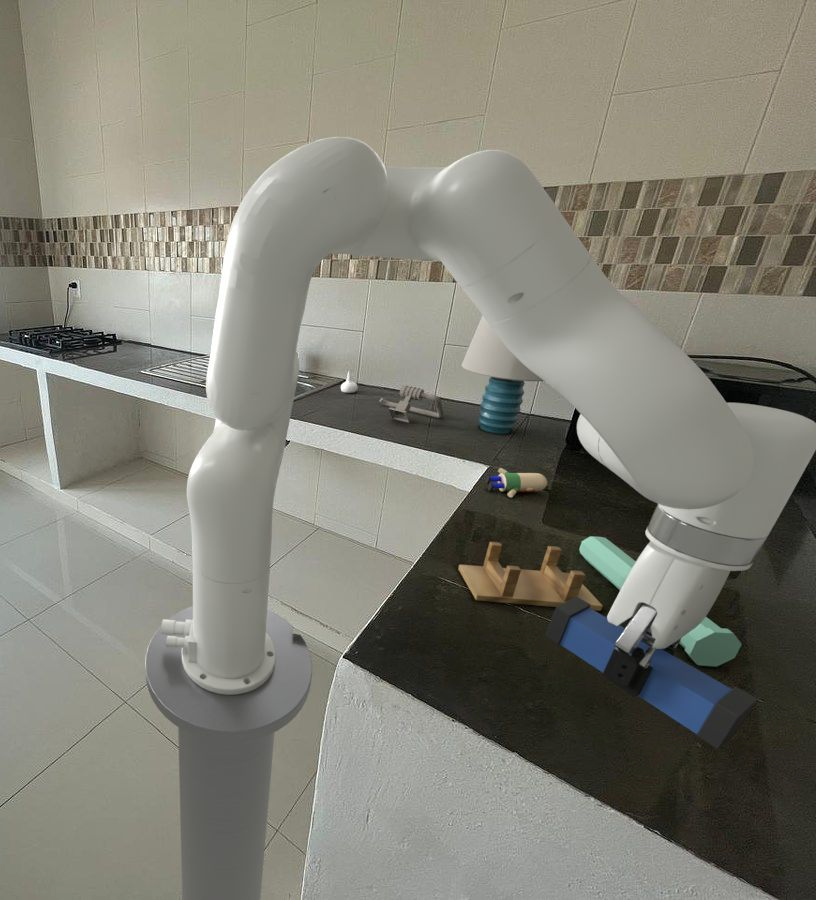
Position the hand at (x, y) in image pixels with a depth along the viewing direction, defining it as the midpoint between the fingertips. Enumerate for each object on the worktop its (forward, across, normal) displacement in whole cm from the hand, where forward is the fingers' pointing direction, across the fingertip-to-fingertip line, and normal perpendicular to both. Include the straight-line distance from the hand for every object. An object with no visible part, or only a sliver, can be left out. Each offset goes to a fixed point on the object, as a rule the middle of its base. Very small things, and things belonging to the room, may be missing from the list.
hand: (632, 676), depth 52 cm
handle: (0, 0, 0) cm, 0 cm away
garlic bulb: (+8, -70, -123) cm, 141 cm away
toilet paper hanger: (+7, -65, -92) cm, 113 cm away
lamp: (+7, -82, -70) cm, 108 cm away
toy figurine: (+7, -46, -41) cm, 62 cm away
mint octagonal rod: (+7, -27, -9) cm, 30 cm away
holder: (+7, -15, -19) cm, 25 cm away
